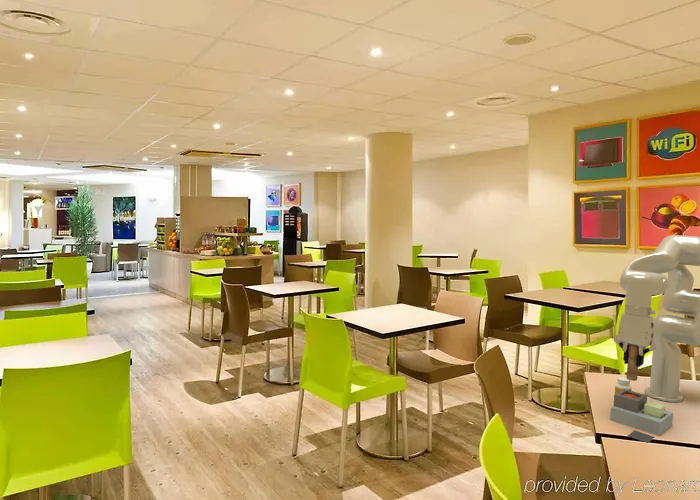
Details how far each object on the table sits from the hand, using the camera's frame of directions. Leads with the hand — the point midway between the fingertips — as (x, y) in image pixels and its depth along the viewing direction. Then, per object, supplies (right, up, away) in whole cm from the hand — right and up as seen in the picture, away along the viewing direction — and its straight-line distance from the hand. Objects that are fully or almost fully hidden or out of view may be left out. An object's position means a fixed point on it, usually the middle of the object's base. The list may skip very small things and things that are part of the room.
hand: (633, 364), depth 172 cm
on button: (+5, -17, -4) cm, 19 cm away
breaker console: (+2, -20, -1) cm, 20 cm away
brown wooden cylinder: (0, -5, +1) cm, 5 cm away
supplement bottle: (+5, -19, +16) cm, 25 cm away
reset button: (0, -16, +2) cm, 16 cm away
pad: (-3, -21, -11) cm, 24 cm away
